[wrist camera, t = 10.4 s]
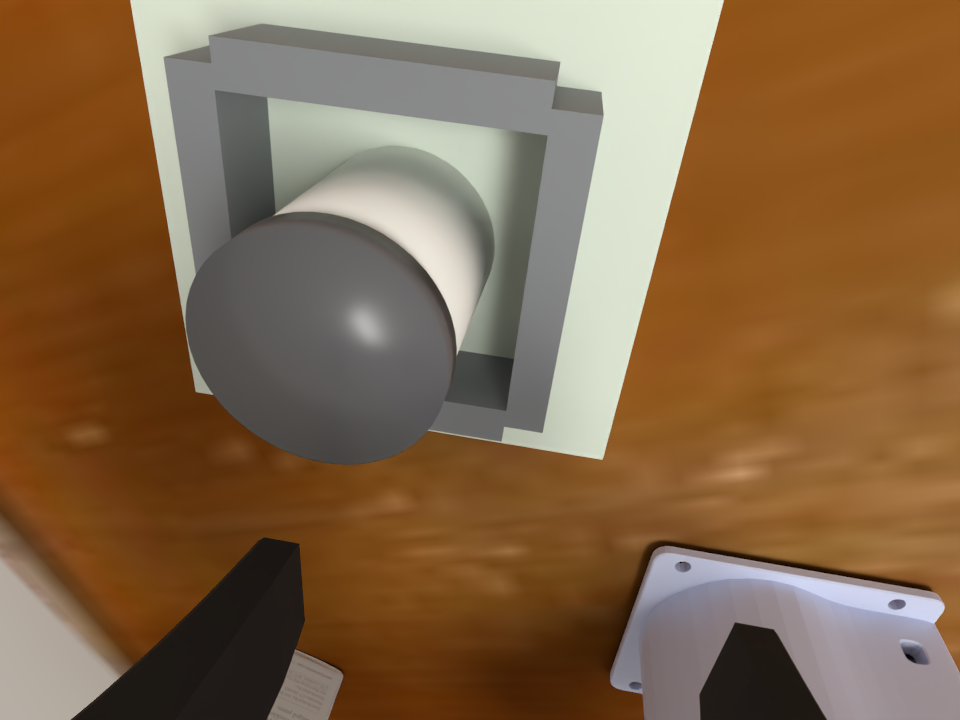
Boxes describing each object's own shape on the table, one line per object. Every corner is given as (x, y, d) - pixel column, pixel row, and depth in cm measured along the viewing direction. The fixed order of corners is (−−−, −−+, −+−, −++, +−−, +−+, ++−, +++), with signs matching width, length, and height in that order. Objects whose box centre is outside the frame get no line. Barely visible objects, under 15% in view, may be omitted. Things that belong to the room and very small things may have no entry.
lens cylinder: (522, 177, 16) (478, 280, 11) (472, 347, 18) (417, 494, 13) (324, 115, 16) (186, 188, 11) (302, 294, 18) (184, 419, 13)
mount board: (726, -33, 14) (760, -29, 11) (602, 447, 21) (604, 519, 18) (129, -103, 14) (28, -115, 12) (205, 381, 21) (151, 441, 19)
